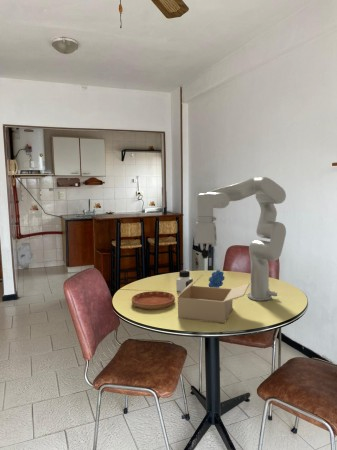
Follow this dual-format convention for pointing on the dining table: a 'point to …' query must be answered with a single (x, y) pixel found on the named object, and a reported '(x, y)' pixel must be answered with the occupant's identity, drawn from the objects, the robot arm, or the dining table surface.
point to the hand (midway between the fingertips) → (205, 257)
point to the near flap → (237, 292)
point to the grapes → (216, 279)
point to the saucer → (153, 300)
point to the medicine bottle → (183, 280)
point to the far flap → (189, 285)
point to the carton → (204, 304)
